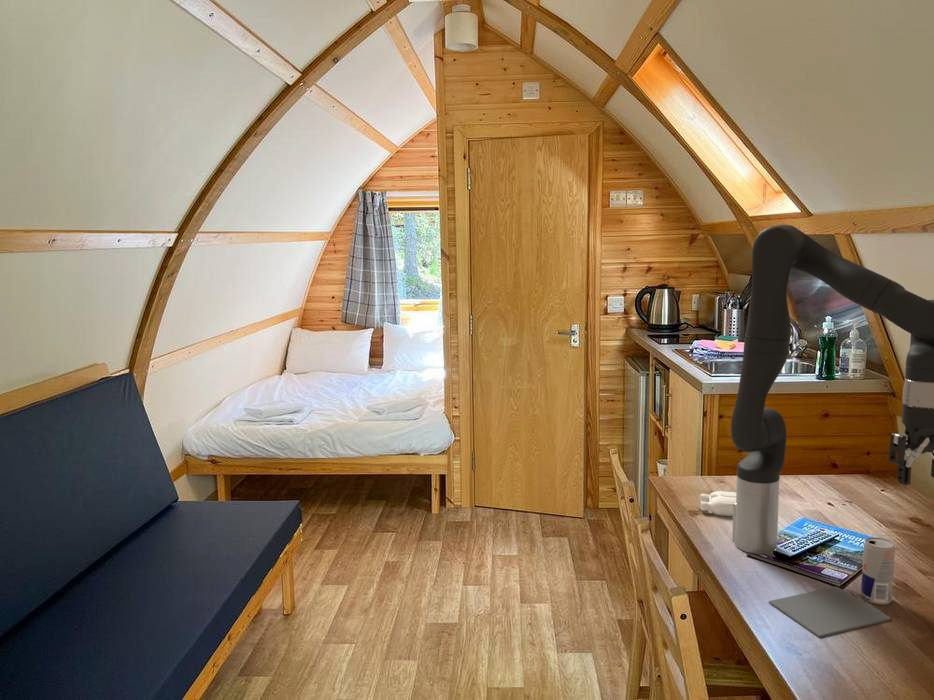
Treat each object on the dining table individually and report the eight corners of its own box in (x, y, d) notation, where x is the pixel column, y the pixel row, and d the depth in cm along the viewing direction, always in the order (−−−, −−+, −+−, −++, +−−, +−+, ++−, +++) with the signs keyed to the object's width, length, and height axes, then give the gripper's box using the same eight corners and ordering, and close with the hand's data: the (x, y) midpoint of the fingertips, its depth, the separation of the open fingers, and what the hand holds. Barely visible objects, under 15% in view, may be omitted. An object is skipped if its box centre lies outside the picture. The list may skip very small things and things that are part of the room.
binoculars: (766, 522, 178) (767, 505, 177) (701, 516, 182) (701, 500, 182) (762, 507, 187) (762, 490, 187) (700, 502, 192) (700, 486, 192)
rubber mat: (768, 603, 138) (768, 601, 138) (836, 588, 143) (836, 586, 143) (818, 637, 126) (818, 635, 126) (890, 620, 131) (891, 618, 131)
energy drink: (863, 589, 142) (866, 534, 141) (893, 597, 139) (897, 541, 137) (858, 600, 138) (861, 544, 136) (889, 608, 135) (893, 550, 133)
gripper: (935, 394, 141) (930, 471, 143) (880, 401, 137) (876, 480, 139) (971, 402, 134) (965, 482, 136) (913, 409, 130) (909, 492, 132)
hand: (920, 481), depth 138 cm, fingers open, 8 cm apart
